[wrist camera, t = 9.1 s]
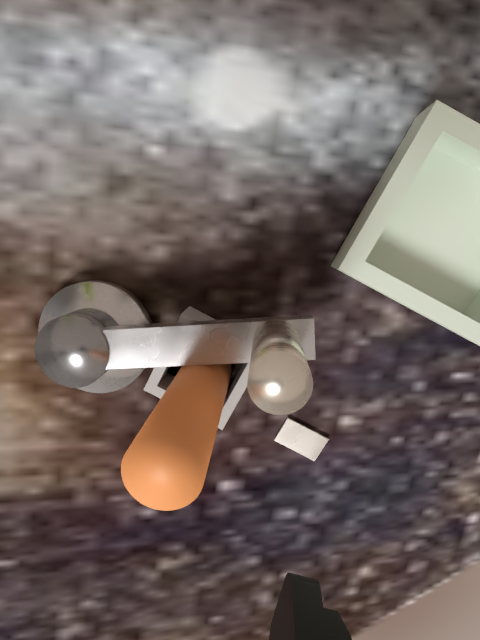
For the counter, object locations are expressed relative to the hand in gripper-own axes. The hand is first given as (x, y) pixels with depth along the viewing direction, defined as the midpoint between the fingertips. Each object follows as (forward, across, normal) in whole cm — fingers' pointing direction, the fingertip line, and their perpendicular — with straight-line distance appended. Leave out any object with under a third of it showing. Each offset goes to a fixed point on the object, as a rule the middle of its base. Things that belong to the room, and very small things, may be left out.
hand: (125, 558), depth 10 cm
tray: (+15, -11, -11) cm, 22 cm away
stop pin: (+15, 0, 0) cm, 15 cm away
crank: (+14, +2, -2) cm, 14 cm away
